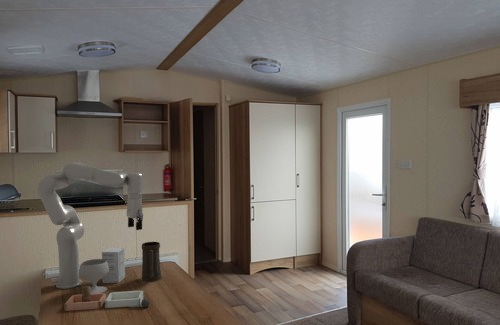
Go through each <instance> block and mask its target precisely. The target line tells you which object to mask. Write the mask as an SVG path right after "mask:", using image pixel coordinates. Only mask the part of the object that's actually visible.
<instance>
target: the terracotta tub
mask: <svg viewBox="0 0 500 325" xmlns="http://www.w3.org/2000/svg"><path fill="white" fill-rule="evenodd" d="M90 298H91V302H82V294H72V295H71V296H70V298H68V300H66V302H65V303H64V311H65V312H66V311H67V312H68V311H69V312H70V311H82V310H95V309H96V310H98V309H102V307H103V306H104V305H105V300H106V299H107V292H102V293H97V294H90Z"/></svg>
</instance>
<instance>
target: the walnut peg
mask: <svg viewBox="0 0 500 325" xmlns="http://www.w3.org/2000/svg"><path fill="white" fill-rule="evenodd" d="M90 288H91V285H84V286H82V287H81V295H82V302H91V298H90Z"/></svg>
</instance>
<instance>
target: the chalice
mask: <svg viewBox="0 0 500 325" xmlns="http://www.w3.org/2000/svg"><path fill="white" fill-rule="evenodd" d="M108 272H109V266H108V263H107V261H106V260H104V259H102V258H93V259H88V260H85V261H83V262H81V264H80V265H79V277H80V278H81V279H82V280H86V281H89V282H90V283H91V284H92V286H90V294H97V293H105V292H106V291H107V290H108V287H106V286H103V285H102V286H101V285H99V286H97V283H98V282H99V281H100V280H101V279H103V277H104V276H106V275H107V273H108Z"/></svg>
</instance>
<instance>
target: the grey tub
mask: <svg viewBox="0 0 500 325" xmlns="http://www.w3.org/2000/svg"><path fill="white" fill-rule="evenodd" d="M106 298H107V299H106V300H105V302H104V308H105V309H111V308H120V307H121V308H125V307H129V308H139V307H141V306H142V304H141V302H142V300H143V299H145V298H144V290H130V291H115V292H114V291H112V292H109V294H108V296H106Z"/></svg>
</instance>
